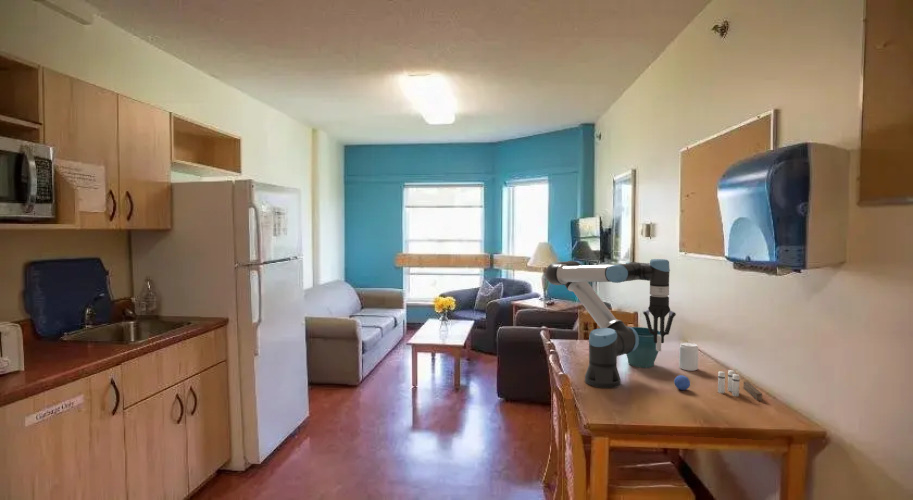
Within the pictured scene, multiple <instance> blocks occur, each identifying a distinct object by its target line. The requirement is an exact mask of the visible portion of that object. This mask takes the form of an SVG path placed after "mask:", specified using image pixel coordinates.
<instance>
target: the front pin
mask: <svg viewBox="0 0 913 500" xmlns="http://www.w3.org/2000/svg"><path fill="white" fill-rule="evenodd" d="M717 373H718V375H717V393H719V394H725V389H726V388H725V386H726V384H725V383H726V372H725V371H723V370H721V371H717Z"/></svg>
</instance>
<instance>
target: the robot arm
mask: <svg viewBox="0 0 913 500" xmlns="http://www.w3.org/2000/svg"><path fill="white" fill-rule="evenodd" d="M670 271H671V269H670V260H668V259H665V258H652V259H650V261H649V262H647V263H646V262H638V261H637V262H636V261H629V262H628V261H627V262H626V263H620V264H597V265H596V264H595V265H588V264H587V265H584V264H583V263H582V262H580V261H578V260H567V261H566V260H565V261H556V262H552V263H550V264H549V265H548V266H547V268H546V270H545V278H546V279H547V281H548V282H549V283H550V284H551V285H554V286H565V288H566V289H567V290H568V291H569V292H572V293H574V295H575V297H577V299H578V301H579V302H580V303H581V304H582V306H583V307H584V308H585V310H586V311H587V312H588V314H589V315H590V317H591V318H592V319H593V320H594V322H595V323H596V324H597V327H598V328H595V329H592V330H591V331H590V332H589V337H588V348H589V349H588V366H587V369H586V372H585V373H584V374H585V375H584V382H585V383H586V384H587V385H589V386H591V387H594V388H599V389H615V388H618V387H620V386H621V385H622V384H621V382H622V381H621V379H622V378H621V376H620V374H619V370H618V367H617V359H618V358H617V357H619V356H623V355H626V354H628V353H631V352H632V351H634V350H635V349H636V348H637V347H638V344H639V337H638V334H637V332H636V331H635V330H634V329H633V328H631V327H632V326H627V325H626V324H625V323H624V321H622V320H621V319H617V318H616V316H614V314H613V313H612V311H611V310H610V309H609V307H608V306H607V305H606V304H605V303H604V301H603V300H602V299H601V297H600V296H599V295H598V293H596V290H595V289H594V288H593V287H592V285H591V284H590V283H617V284H618V283H619V284H620V283H623V282H630V281H631V282H632V281H638V280H639V281H649V306H648V308H647V309H646V310H643V311H642V313H643V316H644V317H645V322H646V325H647V328H648V330H649V333H650V334H653V335H654V336H653V341H654V343H656V350H657V351H659V352H662V344H664V343H665V336H667V335H670V331H671V327H672V323H673V320H674V318H675V316H676V315H677V312H674V311H673V310H671V308H670V297H669V295H670ZM650 314H651V316H652V318H653V325H652V322H651V319H650V316H649V315H650ZM668 315H669V316H668ZM667 316H668V318H667V321H666V324H665V318H666V317H667ZM658 325H659V326H658ZM665 325H666V326H665ZM658 327H659V330H658ZM652 329H653V331H652ZM658 331H660V335H657V333H658Z"/></svg>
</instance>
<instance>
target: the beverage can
mask: <svg viewBox="0 0 913 500" xmlns="http://www.w3.org/2000/svg"><path fill="white" fill-rule="evenodd" d="M678 352H679V353H678V354H679V355H678V367H679V368H680V369H681V370H684V371H689V372H690V371H691V372H693V371H696V370H698V369H699V346H698V344H696V343H693V342H688V341H687V342H686V341H685V342H684V341H683V342H680V344H679V349H678Z"/></svg>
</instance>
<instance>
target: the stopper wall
mask: <svg viewBox="0 0 913 500" xmlns="http://www.w3.org/2000/svg"><path fill="white" fill-rule="evenodd" d="M742 388H743V390H745V391H746V392H747V393H748V394H749V395H750V396H751V397H752V398H753V399H754V400H756V401H757V402H763V393H762V392H761V391H759V390H758V389H757V388H756V387H755V386H754V385H752V384H751V383H750V382H749V381H747V380H746V381H744V380H743V387H742Z"/></svg>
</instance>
